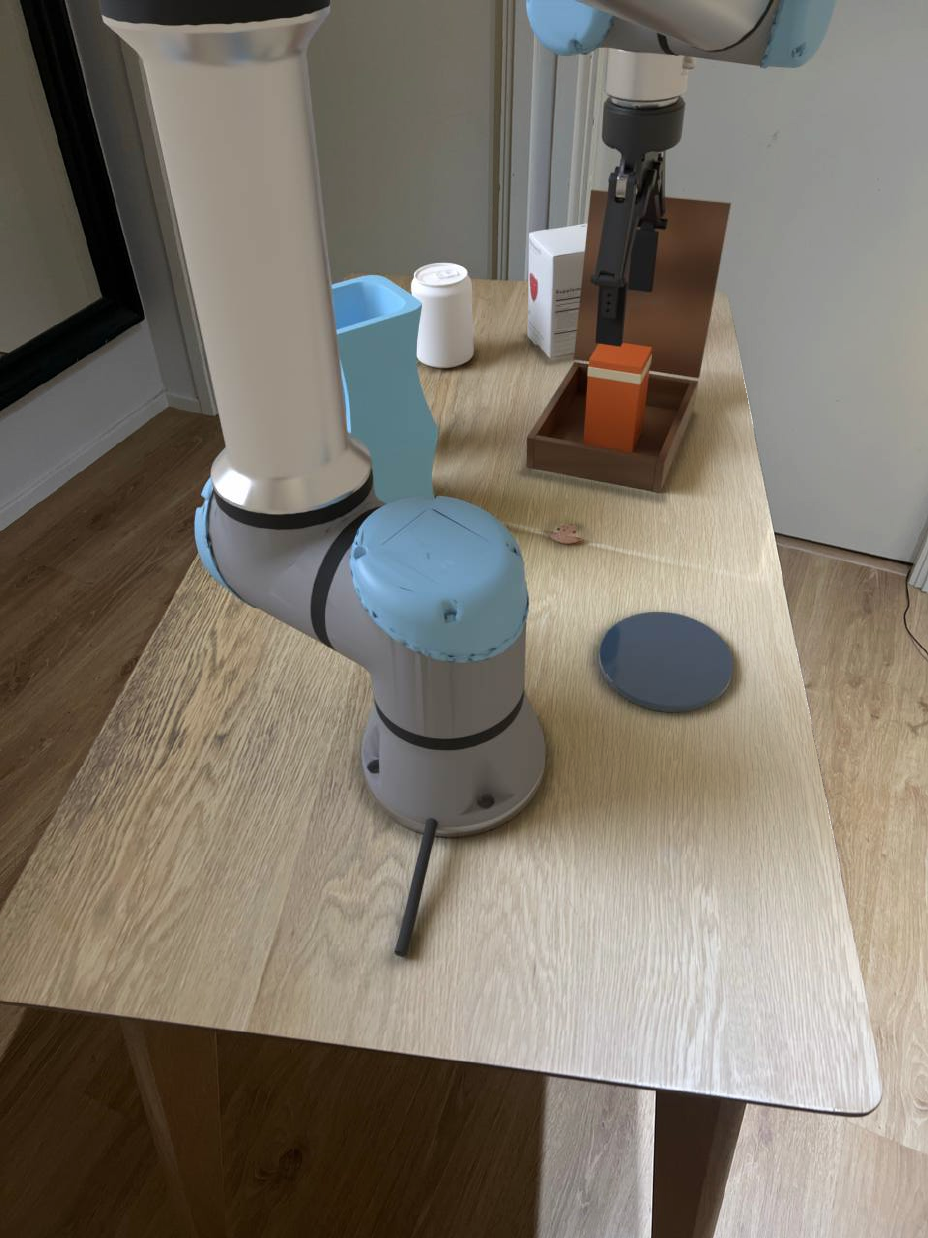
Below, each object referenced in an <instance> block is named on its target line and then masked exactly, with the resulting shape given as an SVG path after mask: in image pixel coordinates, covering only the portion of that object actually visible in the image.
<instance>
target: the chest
mask: <svg viewBox="0 0 928 1238" xmlns="http://www.w3.org/2000/svg"><path fill="white" fill-rule="evenodd" d="M588 366H589V363H584V362H578V361H574V362H573V363H572V365H571V367H570V368H569V370H568V372H566V375H565V376H564V378H563V379H562V380H561V382H560V384H559V386H558V387H557V389H556V390H555V392H554V394H553V395H552V397H551V398H550V400H549V402H548V403H547V405H546V407H545V408H544V410H543V411H542V413H541V414H540V416H539V417H538V419H537V421H536V422H535V423H534V425H533V427H532V428H531V430H530V432H529V433H528V435H527V437H526V457H525V458H526V462H525V463H526V464H525V465H526V468H527V469H534V470H537V471H543V472H549V473H554V474H559V475H563V476H569V477H575V478H578V479H579V478H580V479H585V480H590V481H595V482H600V483H606V484H611V485H615V486H620V487H625V488H631V489H636V490H640V491H641V490H642V491H645V492H652V493H657V494H661V492H662V490H663V486H664V484H665V482H666V479H667V476H668V475H669V472H670V469H671V467H672V464H673V462H674V460H675V457H676V455H677V453H678V450H679V447H680V445H681V443H682V440H683V438H684V435H685V432H686V430H687V427H688V425H689V423H690V420H691V418H692V416H693V412H694V410H695V404H696V398H697V393H698V392H697V391H698V386H699V381H698V380H694V379H687V378H680V377H675V376H668V375H660V374H654V373H649V379H648V387H647V396H646V404H645V412H644V421H643V429H642V433H641V435H640V437H639V439H638V441H637V443H636V445H635V448H634V450H633V452H627V451H622V450H616V449H611V448H605V447H600V446H594V445H589V444H584V428H585V413H586V398H587V384H588Z"/></svg>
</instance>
